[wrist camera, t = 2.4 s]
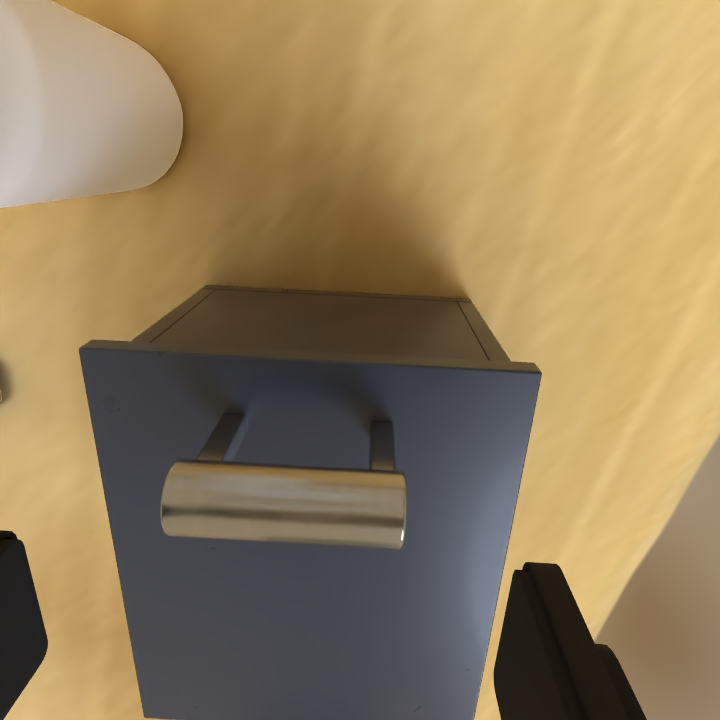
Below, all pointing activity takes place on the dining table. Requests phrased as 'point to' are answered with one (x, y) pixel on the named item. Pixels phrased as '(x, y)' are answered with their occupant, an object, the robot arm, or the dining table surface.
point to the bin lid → (308, 524)
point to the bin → (329, 323)
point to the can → (79, 108)
